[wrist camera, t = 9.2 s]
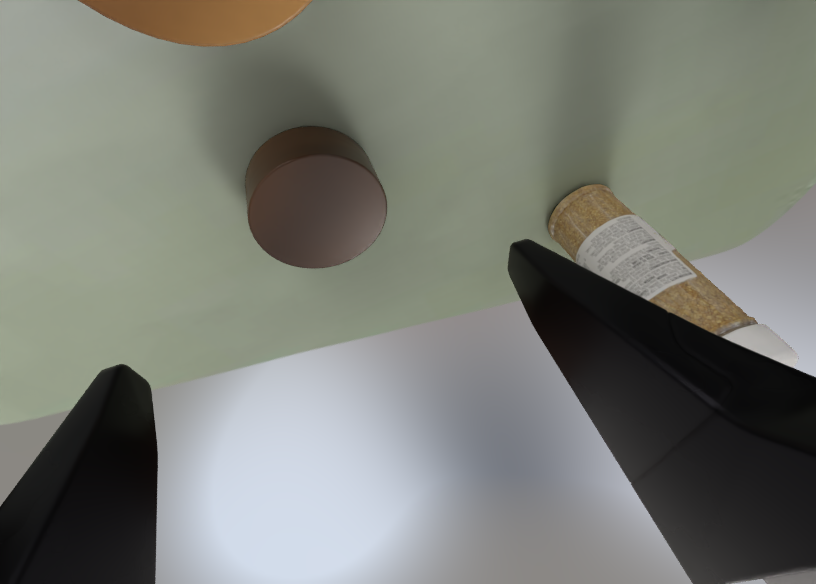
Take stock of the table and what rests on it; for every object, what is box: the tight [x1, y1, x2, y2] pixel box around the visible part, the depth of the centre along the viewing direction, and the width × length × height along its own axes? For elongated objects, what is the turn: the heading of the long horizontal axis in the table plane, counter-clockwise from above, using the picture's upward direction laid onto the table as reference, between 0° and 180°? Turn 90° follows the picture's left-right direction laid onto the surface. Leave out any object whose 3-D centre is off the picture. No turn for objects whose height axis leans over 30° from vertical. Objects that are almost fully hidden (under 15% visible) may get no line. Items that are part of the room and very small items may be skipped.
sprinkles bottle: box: [548, 184, 798, 368], centre depth 22 cm, size 5×5×13 cm
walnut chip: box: [245, 126, 387, 268], centre depth 18 cm, size 6×6×2 cm
